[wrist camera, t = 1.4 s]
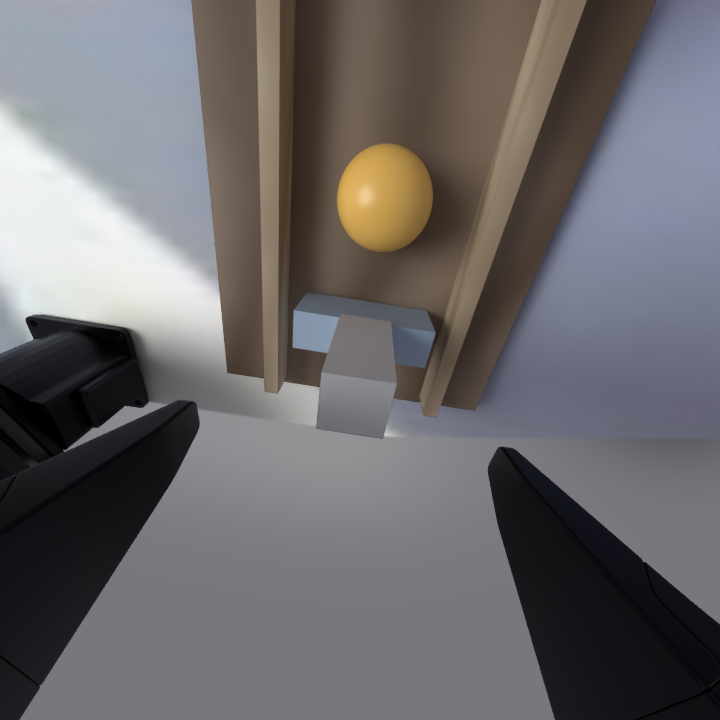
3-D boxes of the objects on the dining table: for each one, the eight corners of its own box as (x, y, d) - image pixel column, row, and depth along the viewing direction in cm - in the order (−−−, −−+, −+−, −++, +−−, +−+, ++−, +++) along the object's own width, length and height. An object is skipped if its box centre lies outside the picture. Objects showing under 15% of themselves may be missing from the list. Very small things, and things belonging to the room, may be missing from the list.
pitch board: (233, 365, 20) (212, 390, 18) (197, -81, 11) (139, -168, 8) (470, 401, 21) (484, 431, 18) (640, 2, 11) (719, -56, 9)
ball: (338, 238, 15) (326, 251, 12) (347, 143, 13) (336, 124, 10) (414, 250, 15) (425, 267, 12) (435, 158, 13) (455, 145, 10)
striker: (305, 327, 17) (254, 419, 10) (307, 288, 16) (251, 361, 9) (417, 345, 18) (443, 447, 10) (427, 307, 16) (464, 394, 9)
